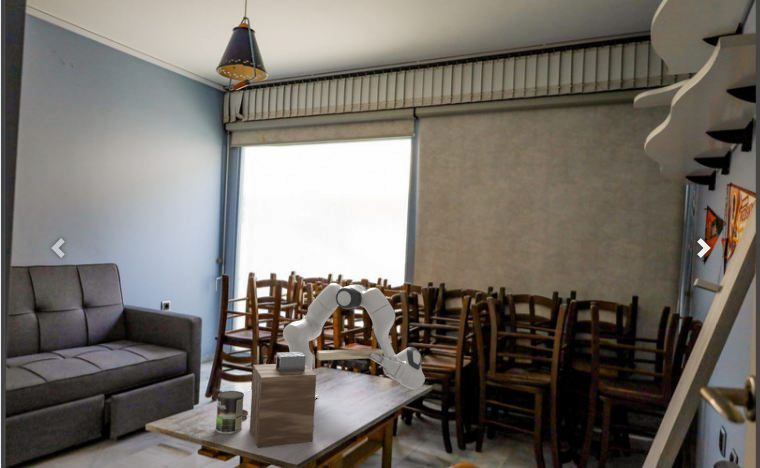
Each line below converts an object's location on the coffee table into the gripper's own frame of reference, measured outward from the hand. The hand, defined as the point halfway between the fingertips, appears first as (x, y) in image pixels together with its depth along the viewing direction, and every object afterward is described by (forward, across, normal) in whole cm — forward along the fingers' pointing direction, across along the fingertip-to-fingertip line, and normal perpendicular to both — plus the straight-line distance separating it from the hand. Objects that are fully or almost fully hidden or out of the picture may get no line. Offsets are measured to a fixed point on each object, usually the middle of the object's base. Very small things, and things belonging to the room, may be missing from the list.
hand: (368, 352), depth 212 cm
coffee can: (+32, -12, +55) cm, 64 cm away
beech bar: (+6, 0, +6) cm, 8 cm away
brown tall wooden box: (+15, 0, +45) cm, 48 cm away
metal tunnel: (+26, 0, +22) cm, 34 cm away
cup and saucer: (+28, -26, +53) cm, 66 cm away
